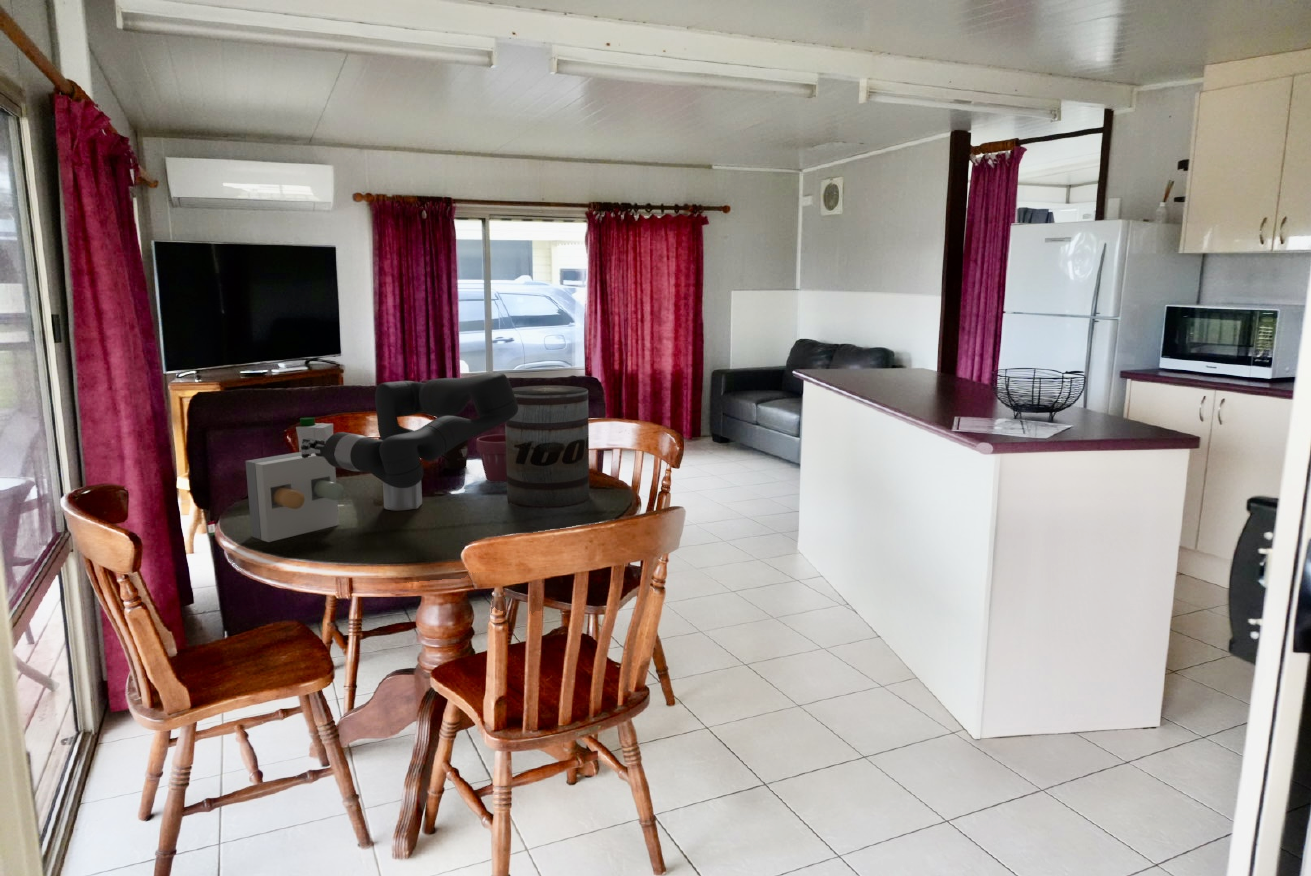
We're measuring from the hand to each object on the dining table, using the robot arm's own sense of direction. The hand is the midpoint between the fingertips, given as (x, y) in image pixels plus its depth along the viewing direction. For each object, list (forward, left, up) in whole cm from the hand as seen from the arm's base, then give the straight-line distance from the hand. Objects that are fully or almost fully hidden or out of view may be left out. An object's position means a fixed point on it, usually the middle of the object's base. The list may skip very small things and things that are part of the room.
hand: (305, 443), depth 186 cm
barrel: (-49, -43, -24) cm, 70 cm away
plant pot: (-33, -67, -24) cm, 78 cm away
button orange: (+6, -5, -16) cm, 18 cm away
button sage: (0, -13, -16) cm, 20 cm away
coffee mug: (-15, -84, -24) cm, 89 cm away
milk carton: (+19, -60, -24) cm, 67 cm away
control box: (+8, -13, -24) cm, 28 cm away
